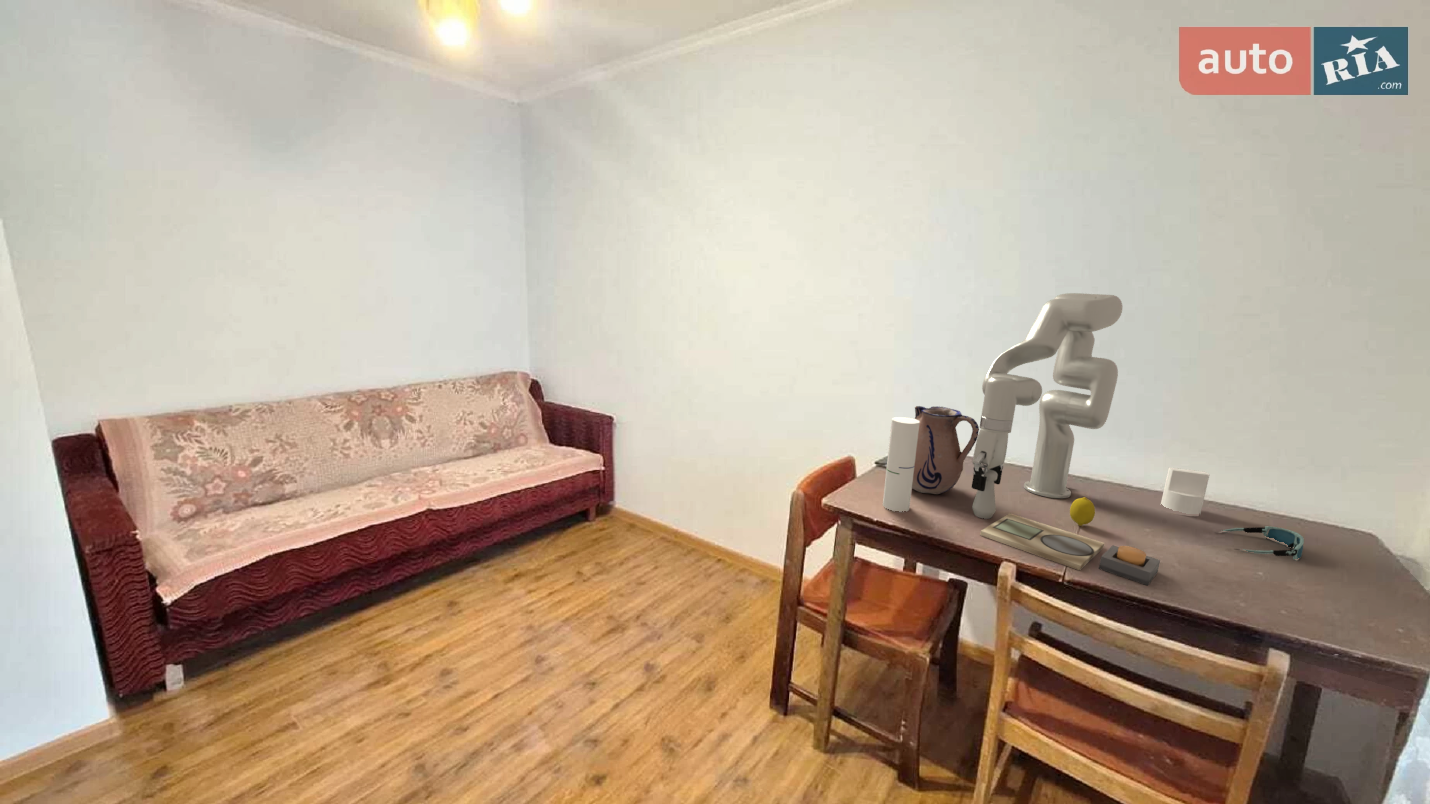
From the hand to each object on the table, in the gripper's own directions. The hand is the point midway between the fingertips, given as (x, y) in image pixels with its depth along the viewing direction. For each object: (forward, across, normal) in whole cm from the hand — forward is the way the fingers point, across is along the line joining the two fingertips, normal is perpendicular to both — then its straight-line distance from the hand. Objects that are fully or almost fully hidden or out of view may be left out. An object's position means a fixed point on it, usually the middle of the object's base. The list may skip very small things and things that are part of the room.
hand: (985, 486), depth 151 cm
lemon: (+8, -16, +19) cm, 26 cm away
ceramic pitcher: (+9, -8, -18) cm, 21 cm away
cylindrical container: (+9, +13, -18) cm, 24 cm away
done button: (+6, +3, +34) cm, 35 cm away
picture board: (+9, +3, +16) cm, 19 cm away
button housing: (+9, +3, +34) cm, 35 cm away
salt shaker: (+9, -1, 0) cm, 9 cm away
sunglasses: (+8, -40, +52) cm, 66 cm away
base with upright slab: (+7, -53, +34) cm, 63 cm away
